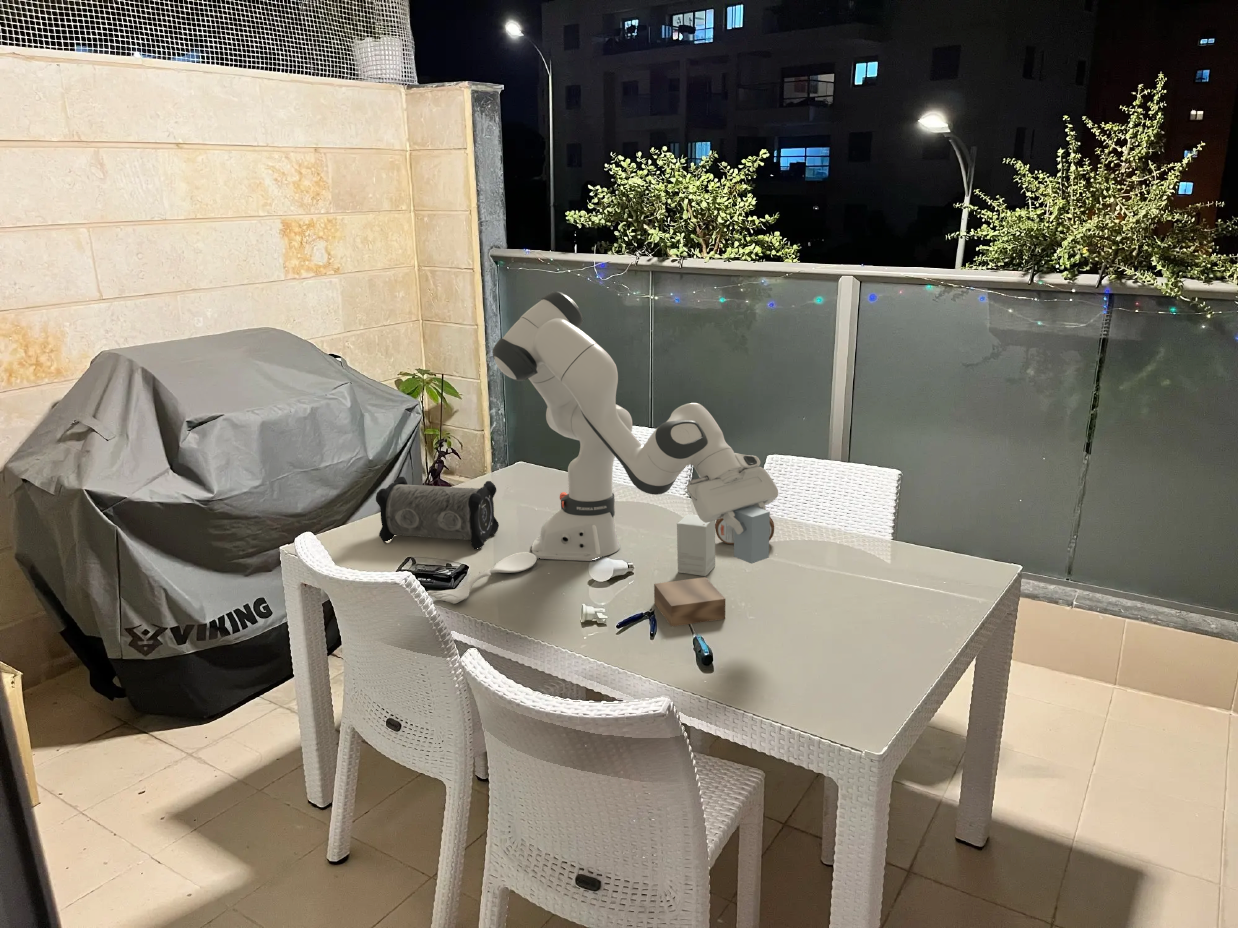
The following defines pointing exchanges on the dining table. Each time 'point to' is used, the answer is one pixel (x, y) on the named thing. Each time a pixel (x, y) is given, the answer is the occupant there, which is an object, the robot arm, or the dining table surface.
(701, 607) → the walnut block
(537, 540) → the robot arm
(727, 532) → the tin
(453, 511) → the speaker
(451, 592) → the spoon
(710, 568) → the supplement box
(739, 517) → the slate block
